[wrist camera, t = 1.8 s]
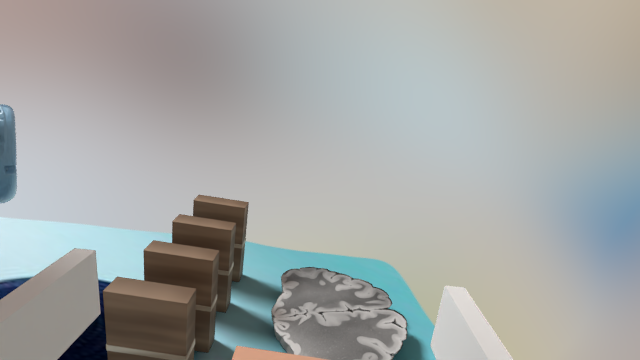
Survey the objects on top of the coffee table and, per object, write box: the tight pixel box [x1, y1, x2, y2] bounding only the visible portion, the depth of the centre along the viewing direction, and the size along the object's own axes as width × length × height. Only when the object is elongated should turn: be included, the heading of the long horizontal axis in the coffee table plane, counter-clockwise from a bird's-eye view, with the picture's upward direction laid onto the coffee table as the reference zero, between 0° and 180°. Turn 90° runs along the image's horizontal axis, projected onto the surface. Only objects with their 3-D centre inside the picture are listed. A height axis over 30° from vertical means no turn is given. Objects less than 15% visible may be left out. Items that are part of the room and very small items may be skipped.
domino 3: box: [172, 214, 236, 313], centre depth 44 cm, size 2×7×12 cm, turn 87°
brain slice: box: [271, 267, 407, 360], centre depth 45 cm, size 20×17×3 cm
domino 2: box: [193, 195, 248, 282], centre depth 50 cm, size 2×7×12 cm, turn 88°
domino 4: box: [144, 240, 219, 353], centre depth 38 cm, size 2×7×12 cm, turn 87°
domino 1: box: [103, 277, 196, 360], centre depth 32 cm, size 2×7×12 cm, turn 87°
